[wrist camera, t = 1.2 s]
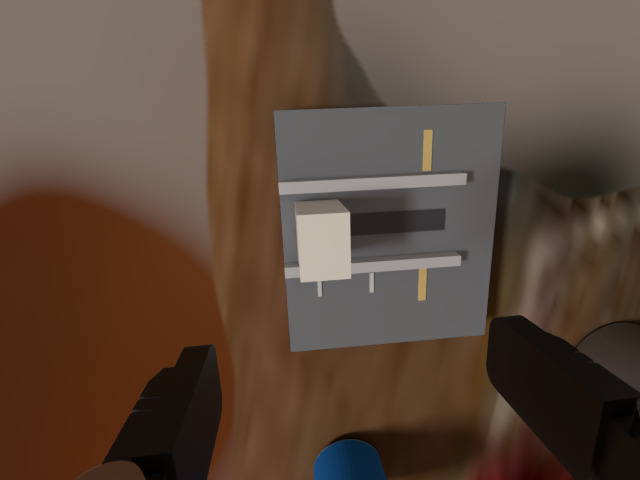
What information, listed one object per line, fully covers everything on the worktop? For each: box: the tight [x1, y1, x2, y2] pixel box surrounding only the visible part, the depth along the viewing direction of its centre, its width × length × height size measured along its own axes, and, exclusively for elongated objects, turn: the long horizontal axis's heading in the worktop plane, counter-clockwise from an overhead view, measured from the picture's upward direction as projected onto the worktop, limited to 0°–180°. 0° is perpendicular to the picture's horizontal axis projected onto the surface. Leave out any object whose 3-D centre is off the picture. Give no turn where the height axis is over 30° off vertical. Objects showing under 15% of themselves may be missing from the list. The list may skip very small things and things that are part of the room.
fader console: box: [274, 102, 506, 352], centre depth 27 cm, size 16×18×3 cm
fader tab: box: [295, 199, 351, 282], centre depth 23 cm, size 3×4×5 cm
